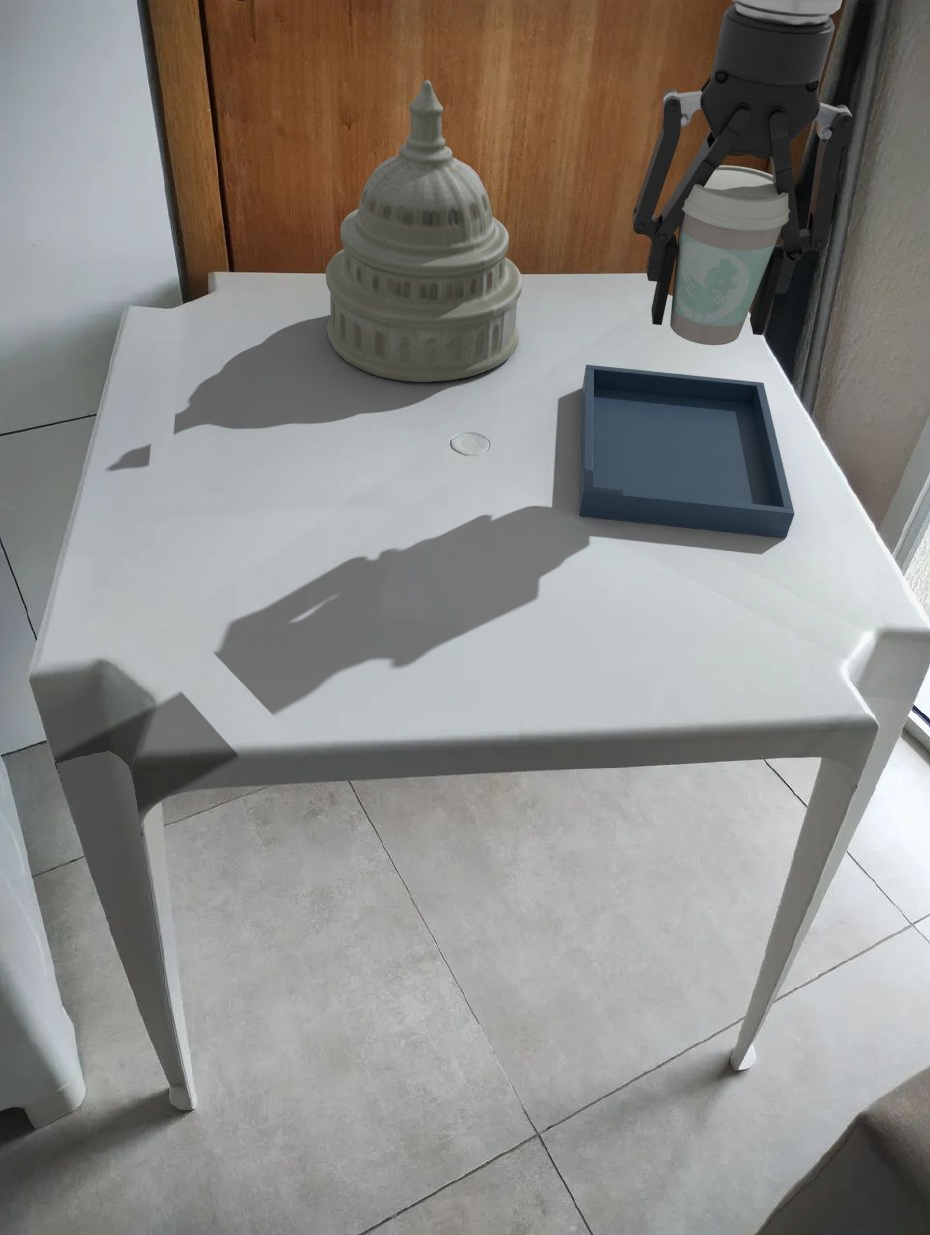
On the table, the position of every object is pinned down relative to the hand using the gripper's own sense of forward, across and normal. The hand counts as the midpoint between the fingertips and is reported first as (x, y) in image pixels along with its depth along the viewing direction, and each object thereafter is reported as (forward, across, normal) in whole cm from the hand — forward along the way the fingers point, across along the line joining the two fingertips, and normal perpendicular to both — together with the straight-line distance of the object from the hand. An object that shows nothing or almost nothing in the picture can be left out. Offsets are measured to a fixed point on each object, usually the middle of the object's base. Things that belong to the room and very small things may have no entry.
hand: (706, 321), depth 84 cm
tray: (+14, 0, 0) cm, 14 cm away
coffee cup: (+1, 0, 0) cm, 1 cm away
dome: (+14, +26, -18) cm, 34 cm away
